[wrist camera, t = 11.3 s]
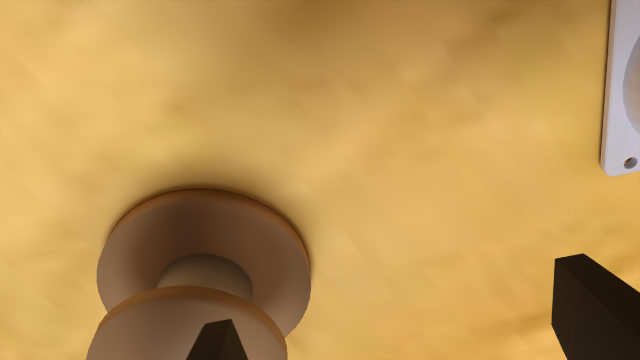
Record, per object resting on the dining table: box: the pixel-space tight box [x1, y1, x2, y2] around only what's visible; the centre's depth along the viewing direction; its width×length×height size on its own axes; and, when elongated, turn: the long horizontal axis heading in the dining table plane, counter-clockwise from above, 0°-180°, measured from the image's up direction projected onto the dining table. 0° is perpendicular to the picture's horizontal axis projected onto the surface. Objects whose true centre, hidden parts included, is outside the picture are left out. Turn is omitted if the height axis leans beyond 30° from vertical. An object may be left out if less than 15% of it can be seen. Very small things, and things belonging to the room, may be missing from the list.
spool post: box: [86, 189, 311, 360], centre depth 20 cm, size 9×9×5 cm
